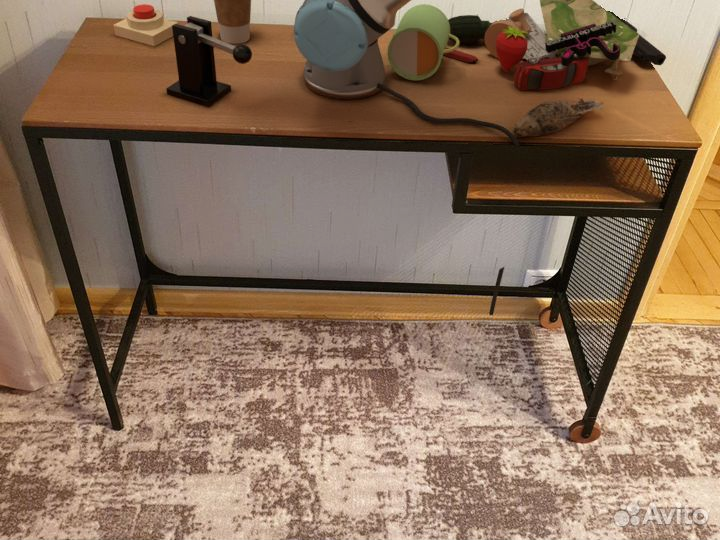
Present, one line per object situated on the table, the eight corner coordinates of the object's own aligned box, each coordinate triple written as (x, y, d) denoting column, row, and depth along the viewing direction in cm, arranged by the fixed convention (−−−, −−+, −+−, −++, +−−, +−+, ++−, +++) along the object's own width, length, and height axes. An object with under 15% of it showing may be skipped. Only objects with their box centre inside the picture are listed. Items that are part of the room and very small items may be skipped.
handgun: (696, 74, 150) (640, 66, 144) (621, 17, 170) (569, 8, 164) (705, 58, 148) (648, 49, 142) (628, 2, 168) (576, -7, 162)
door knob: (499, 6, 149) (515, 41, 153) (478, 29, 144) (494, 64, 147) (532, -6, 143) (548, 30, 147) (511, 18, 138) (528, 54, 142)
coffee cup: (207, 43, 145) (200, -34, 136) (223, 27, 152) (217, -48, 142) (247, 49, 144) (242, -28, 134) (261, 32, 150) (258, -42, 141)
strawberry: (515, 62, 145) (524, 13, 138) (526, 79, 139) (537, 29, 133) (486, 62, 144) (495, 13, 137) (497, 80, 138) (506, 29, 132)
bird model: (503, 106, 120) (497, 132, 123) (530, 121, 117) (523, 148, 120) (585, 80, 130) (577, 105, 134) (611, 93, 127) (603, 119, 130)
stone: (572, 51, 143) (524, 62, 142) (570, 66, 146) (523, 77, 145) (527, 4, 158) (484, 14, 157) (526, 19, 161) (484, 28, 160)
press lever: (255, 62, 122) (256, 44, 120) (244, 69, 120) (245, 51, 118) (191, 36, 125) (191, 18, 123) (180, 42, 123) (179, 25, 121)
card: (552, -15, 154) (552, -18, 153) (671, 2, 141) (672, -2, 140) (502, 46, 144) (501, 43, 143) (625, 70, 131) (625, 66, 131)
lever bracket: (231, 91, 131) (226, 22, 122) (208, 107, 126) (201, 36, 117) (190, 79, 134) (182, 10, 125) (166, 94, 129) (156, 24, 120)
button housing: (179, 32, 149) (177, 13, 146) (154, 46, 143) (151, 27, 141) (141, 22, 152) (138, 3, 149) (115, 35, 146) (111, 16, 144)
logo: (610, 17, 137) (635, 46, 130) (610, 25, 138) (634, 53, 132) (543, 39, 137) (564, 69, 131) (543, 46, 138) (563, 76, 132)
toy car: (516, 54, 135) (527, 67, 131) (586, 53, 139) (599, 65, 135) (508, 80, 138) (519, 94, 135) (577, 79, 142) (589, 92, 139)
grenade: (442, 43, 152) (497, 45, 154) (448, 42, 146) (506, 43, 148) (443, 15, 151) (499, 17, 152) (450, 13, 145) (508, 14, 146)
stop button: (159, 15, 146) (158, 7, 145) (146, 22, 143) (145, 13, 142) (143, 11, 147) (142, 2, 146) (130, 17, 144) (128, 9, 143)
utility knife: (474, 64, 143) (478, 61, 145) (475, 59, 143) (479, 56, 144) (422, 49, 148) (427, 46, 149) (423, 44, 147) (427, 41, 148)
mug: (399, 55, 146) (387, 80, 137) (399, 3, 140) (387, 26, 131) (461, 58, 144) (454, 84, 135) (464, 6, 137) (456, 29, 128)
